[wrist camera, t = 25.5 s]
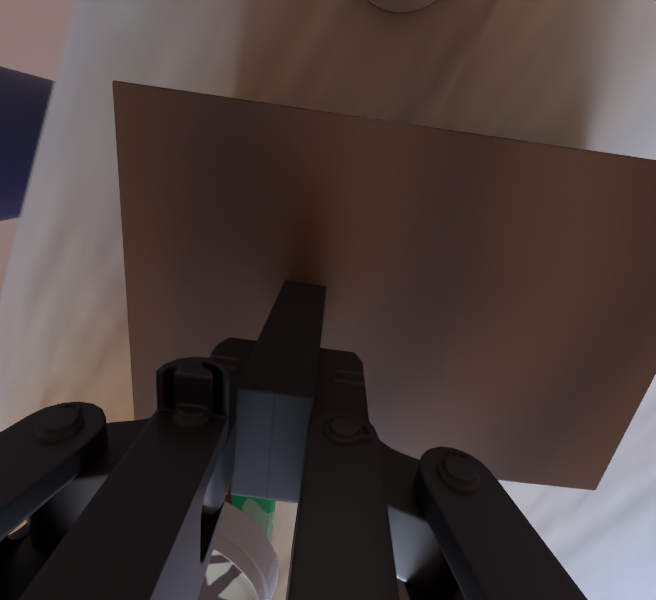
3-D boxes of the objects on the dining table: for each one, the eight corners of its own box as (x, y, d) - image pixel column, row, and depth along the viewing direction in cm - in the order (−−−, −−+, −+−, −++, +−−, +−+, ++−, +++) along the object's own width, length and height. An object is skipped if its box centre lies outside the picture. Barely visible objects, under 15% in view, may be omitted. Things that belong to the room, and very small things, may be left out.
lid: (144, 430, 17) (135, 442, 16) (125, 84, 12) (111, 79, 11) (584, 476, 18) (595, 490, 17) (734, 173, 13) (759, 175, 12)
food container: (274, 531, 31) (246, 691, 22) (201, 514, 31) (141, 670, 21) (313, 415, 27) (299, 552, 18) (229, 394, 26) (169, 522, 17)
